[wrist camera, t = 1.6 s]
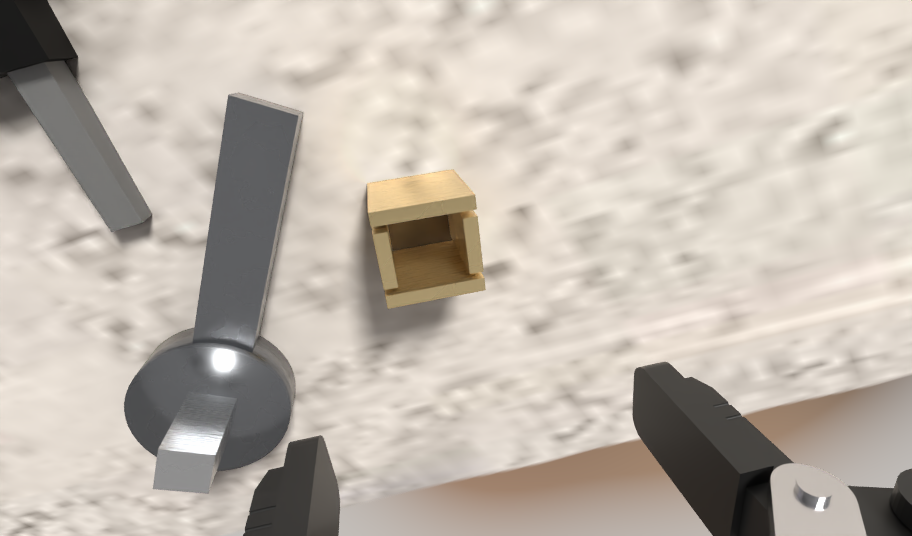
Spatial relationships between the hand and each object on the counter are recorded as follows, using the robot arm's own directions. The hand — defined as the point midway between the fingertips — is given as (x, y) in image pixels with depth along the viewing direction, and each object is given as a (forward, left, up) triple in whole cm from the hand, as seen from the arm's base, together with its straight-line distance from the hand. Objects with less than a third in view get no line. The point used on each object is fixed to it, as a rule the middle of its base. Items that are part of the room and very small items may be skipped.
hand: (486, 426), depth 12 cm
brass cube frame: (0, 0, -18) cm, 18 cm away
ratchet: (-9, -7, -18) cm, 21 cm away
